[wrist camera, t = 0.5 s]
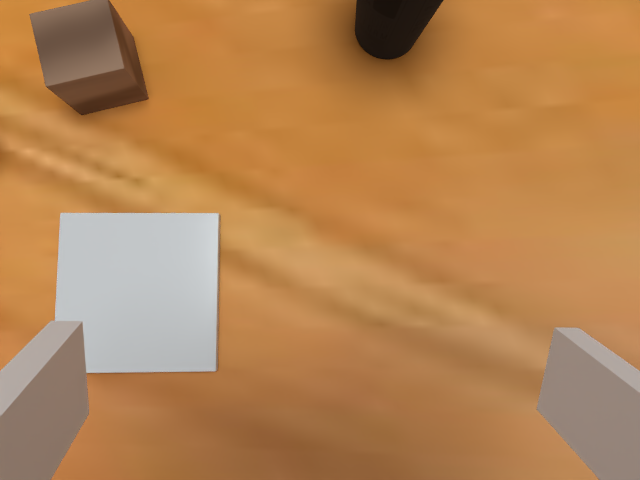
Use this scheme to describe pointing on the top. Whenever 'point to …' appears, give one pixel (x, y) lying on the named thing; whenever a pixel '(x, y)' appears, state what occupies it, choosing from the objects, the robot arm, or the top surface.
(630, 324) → the top surface
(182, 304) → the grey tile
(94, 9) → the walnut block
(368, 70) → the top surface
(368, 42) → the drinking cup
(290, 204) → the top surface
